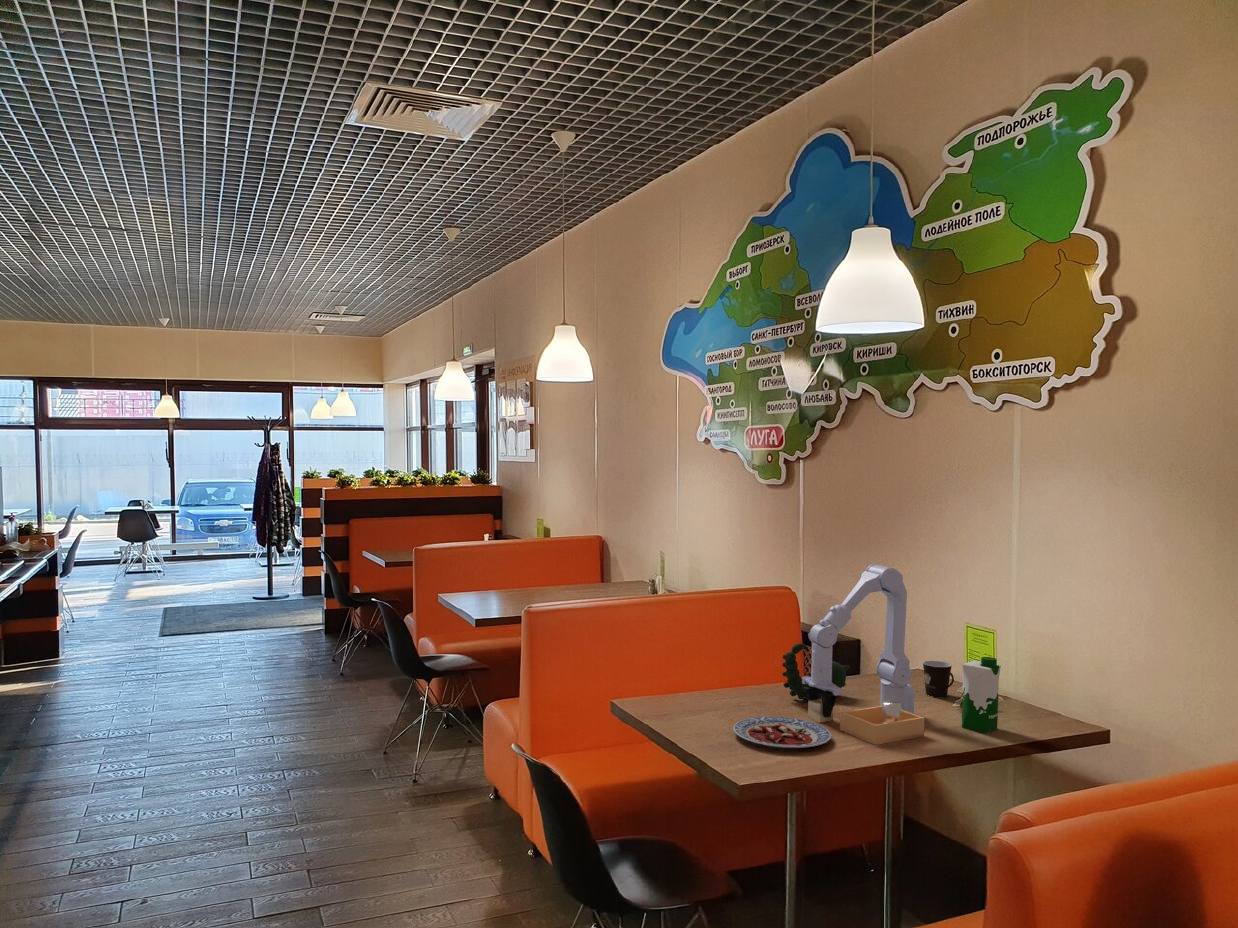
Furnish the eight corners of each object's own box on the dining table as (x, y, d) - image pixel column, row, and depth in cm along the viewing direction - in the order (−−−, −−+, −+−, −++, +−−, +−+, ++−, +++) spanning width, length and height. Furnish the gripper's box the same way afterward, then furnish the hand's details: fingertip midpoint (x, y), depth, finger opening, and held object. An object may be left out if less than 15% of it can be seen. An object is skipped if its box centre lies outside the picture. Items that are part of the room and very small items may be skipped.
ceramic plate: (756, 757, 226) (756, 746, 226) (718, 727, 251) (719, 716, 251) (849, 751, 233) (849, 740, 233) (803, 721, 258) (804, 711, 258)
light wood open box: (887, 722, 258) (887, 704, 258) (923, 735, 246) (924, 717, 246) (839, 729, 250) (840, 711, 250) (875, 744, 238) (875, 725, 238)
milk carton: (988, 734, 248) (990, 662, 248) (956, 727, 255) (958, 656, 254) (1002, 728, 254) (1003, 657, 254) (970, 721, 261) (972, 651, 260)
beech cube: (821, 715, 263) (821, 698, 263) (833, 720, 259) (833, 703, 259) (807, 717, 261) (808, 700, 261) (819, 722, 256) (819, 705, 256)
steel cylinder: (892, 724, 253) (892, 699, 253) (905, 729, 249) (905, 704, 248) (878, 726, 251) (878, 701, 251) (890, 731, 246) (891, 706, 246)
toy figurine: (797, 711, 273) (860, 695, 284) (794, 649, 272) (858, 635, 283) (778, 703, 281) (840, 687, 293) (775, 643, 280) (837, 630, 292)
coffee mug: (919, 690, 294) (920, 659, 293) (947, 692, 292) (948, 661, 292) (926, 700, 282) (927, 668, 282) (955, 702, 281) (956, 669, 281)
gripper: (794, 662, 264) (793, 709, 264) (827, 674, 251) (826, 722, 251) (813, 660, 267) (812, 706, 268) (847, 671, 255) (846, 719, 255)
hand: (820, 714), depth 260 cm, fingers closed on beech cube, 5 cm apart
